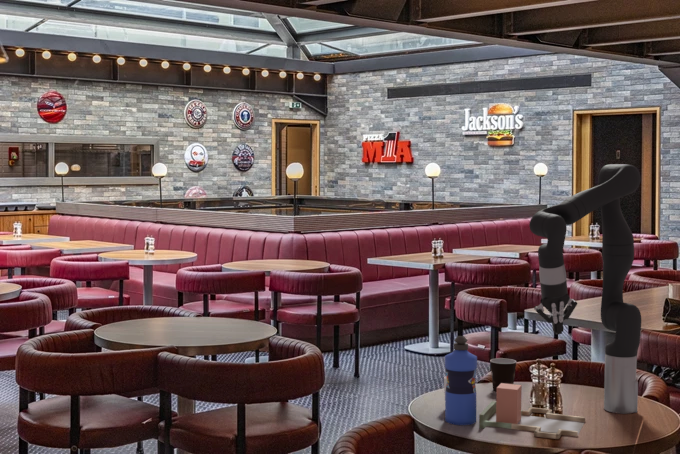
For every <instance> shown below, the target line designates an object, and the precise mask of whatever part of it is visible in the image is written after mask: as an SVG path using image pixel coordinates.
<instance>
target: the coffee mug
mask: <svg viewBox="0 0 680 454" xmlns="http://www.w3.org/2000/svg"><path fill="white" fill-rule="evenodd" d="M489 363H490V373H491V383H492V391H493V392H495V393H497V387H498V386H499V385H500V384H501V383H505V384H514V382H515V374H516V369H517V360H515V359H512V358H507V357H506V358H503V357H498V358H491V359H490V360H489Z"/></svg>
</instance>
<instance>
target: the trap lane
mask: <svg viewBox="0 0 680 454" xmlns="http://www.w3.org/2000/svg"><path fill="white" fill-rule="evenodd" d="M532 413H536V414H545V417H543V416H534V415H531V414H532ZM478 416H479V417H478V418H479V419H478V421H479V423H478V428H479V429H481V428H482V429H485V428H486V427H493V428H501V429H502V428H503V429H510V430H518V431H526V432H533V433H534V434H533V436H534V437H538V438H546V439H552V440H554V439H555V440H560V439H561V437H562V436H568V437H576V438H577V437H578V436H579V434H580V432H581V430H582V428H583V426H584V425H585V422H586V416H578V415H577V416H576V415H569V414H561V413H560V414H559V413H553V408H552V409H550V408H544V407H543V408H540V407H532V406H529V407H528V409H527V410H525V409H521V420H520V421H519V422H518V424H512V423H503V422H496V400H492V401H491V402H490V403H489V404H488V405H487V406H486V407H485V408H484V409H483V410H482V411H481V412H480V413H479V415H478Z"/></svg>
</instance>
